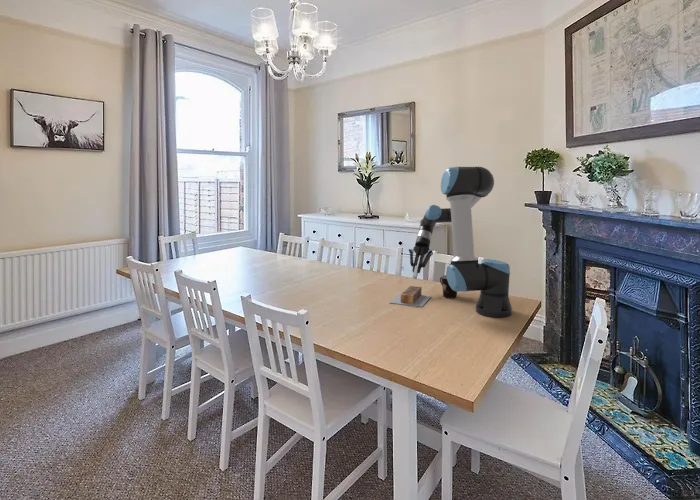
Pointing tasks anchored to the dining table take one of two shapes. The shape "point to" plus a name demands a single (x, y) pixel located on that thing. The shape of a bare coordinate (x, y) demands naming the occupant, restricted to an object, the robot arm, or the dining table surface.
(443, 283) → the coffee mug
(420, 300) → the rubber mat
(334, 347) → the dining table surface
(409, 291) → the walnut block
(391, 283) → the dining table surface
